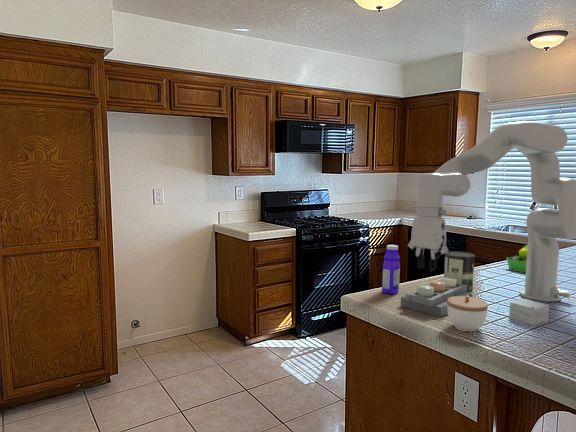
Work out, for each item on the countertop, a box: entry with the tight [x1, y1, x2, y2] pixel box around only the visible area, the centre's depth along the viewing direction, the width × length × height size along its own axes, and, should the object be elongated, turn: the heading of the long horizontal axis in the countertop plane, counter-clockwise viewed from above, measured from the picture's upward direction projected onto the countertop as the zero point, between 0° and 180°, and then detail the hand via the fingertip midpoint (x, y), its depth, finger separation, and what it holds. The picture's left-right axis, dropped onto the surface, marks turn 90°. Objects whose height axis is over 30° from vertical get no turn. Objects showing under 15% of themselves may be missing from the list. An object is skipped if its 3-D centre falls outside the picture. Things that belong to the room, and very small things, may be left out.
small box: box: [508, 298, 550, 326], centre depth 128 cm, size 8×8×5 cm
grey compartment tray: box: [400, 280, 473, 318], centre depth 142 cm, size 14×25×5 cm, turn 134°
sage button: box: [416, 285, 434, 298], centre depth 136 cm, size 5×5×3 cm
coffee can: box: [443, 250, 476, 294], centre depth 157 cm, size 10×10×14 cm
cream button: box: [440, 276, 457, 288], centre depth 147 cm, size 5×5×3 cm
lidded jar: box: [447, 296, 489, 332], centre depth 121 cm, size 11×11×9 cm
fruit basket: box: [505, 244, 528, 273], centre depth 190 cm, size 11×9×11 cm
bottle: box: [381, 244, 401, 295], centre depth 154 cm, size 7×6×17 cm
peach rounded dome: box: [429, 280, 446, 293], centre depth 142 cm, size 5×5×3 cm
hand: (426, 269), depth 135 cm, fingers open, 3 cm apart
